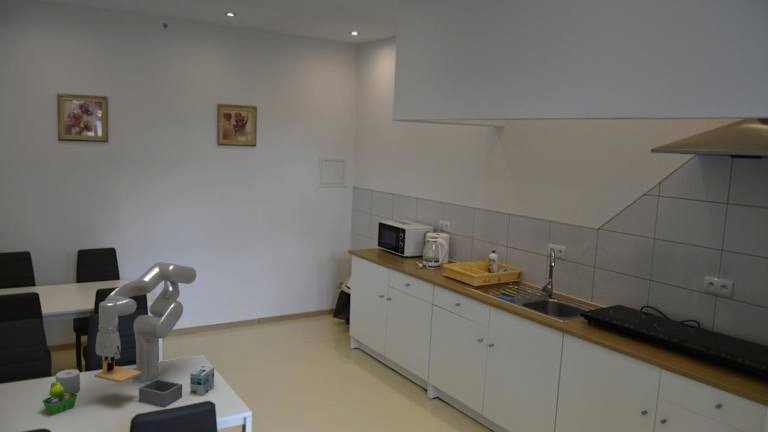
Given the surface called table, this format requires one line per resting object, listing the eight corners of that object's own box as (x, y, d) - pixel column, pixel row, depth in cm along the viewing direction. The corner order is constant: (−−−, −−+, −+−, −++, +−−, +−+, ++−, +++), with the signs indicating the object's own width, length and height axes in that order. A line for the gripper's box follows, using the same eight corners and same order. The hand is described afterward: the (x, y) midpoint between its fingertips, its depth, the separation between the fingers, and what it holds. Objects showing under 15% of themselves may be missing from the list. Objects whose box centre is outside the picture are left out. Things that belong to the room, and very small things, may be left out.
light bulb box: (203, 398, 259) (203, 375, 258) (189, 396, 261) (189, 373, 259) (214, 388, 270) (214, 366, 268) (201, 386, 271) (201, 364, 269)
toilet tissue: (76, 382, 270) (76, 365, 268) (81, 393, 259) (80, 375, 258) (54, 386, 264) (53, 368, 263) (58, 397, 254) (57, 379, 253)
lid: (94, 378, 248) (94, 363, 248) (115, 369, 259) (115, 355, 258) (121, 384, 243) (121, 369, 243) (141, 375, 254) (141, 360, 254)
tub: (139, 403, 252) (138, 387, 251) (156, 393, 262) (156, 378, 261) (165, 409, 247) (164, 393, 246) (182, 399, 257) (182, 384, 256)
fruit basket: (51, 416, 237) (50, 390, 236) (40, 410, 242) (39, 385, 240) (78, 406, 247) (78, 381, 245) (67, 400, 251) (66, 376, 250)
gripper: (87, 329, 250) (88, 369, 252) (115, 334, 245) (116, 376, 247) (101, 324, 257) (101, 364, 259) (129, 329, 252) (129, 370, 254)
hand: (108, 369), depth 253 cm, fingers closed on lid, 1 cm apart
